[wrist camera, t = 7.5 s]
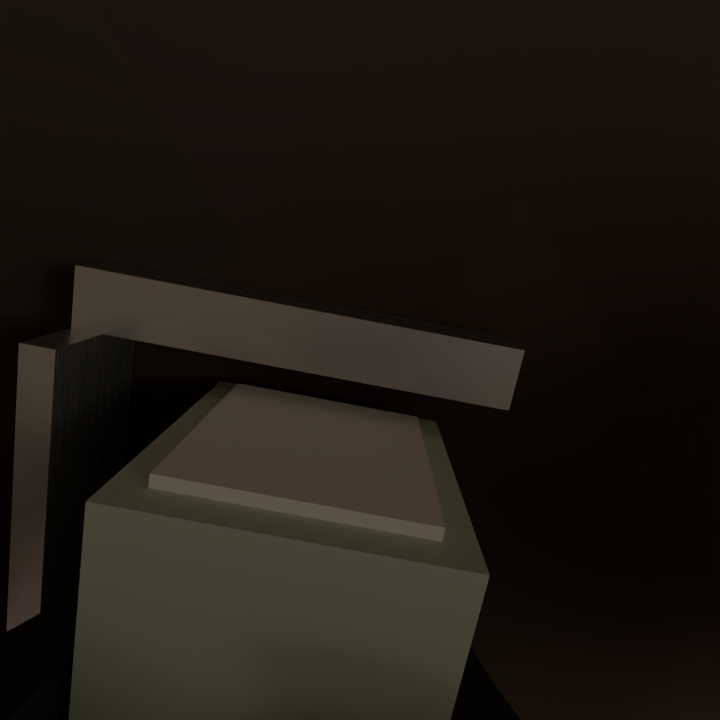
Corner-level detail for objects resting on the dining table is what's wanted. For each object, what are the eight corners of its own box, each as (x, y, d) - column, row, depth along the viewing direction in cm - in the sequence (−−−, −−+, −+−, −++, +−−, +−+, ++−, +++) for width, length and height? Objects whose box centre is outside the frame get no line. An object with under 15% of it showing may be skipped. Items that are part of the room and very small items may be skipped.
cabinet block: (437, 412, 12) (493, 560, 6) (367, 717, 13) (363, 1037, 8) (221, 372, 11) (87, 485, 6) (180, 683, 13) (47, 984, 8)
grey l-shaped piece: (504, 336, 11) (550, 368, 8) (404, 734, 14) (412, 870, 11) (114, 262, 11) (22, 268, 8) (81, 676, 14) (-1, 797, 11)
